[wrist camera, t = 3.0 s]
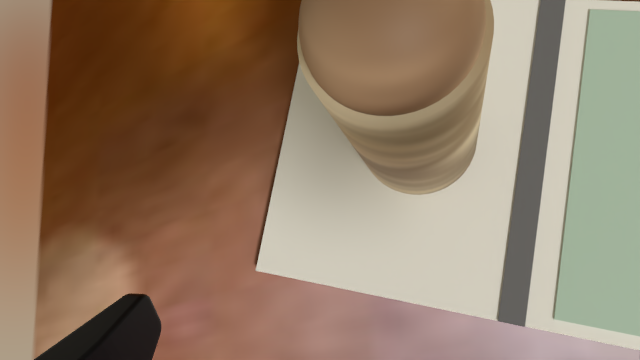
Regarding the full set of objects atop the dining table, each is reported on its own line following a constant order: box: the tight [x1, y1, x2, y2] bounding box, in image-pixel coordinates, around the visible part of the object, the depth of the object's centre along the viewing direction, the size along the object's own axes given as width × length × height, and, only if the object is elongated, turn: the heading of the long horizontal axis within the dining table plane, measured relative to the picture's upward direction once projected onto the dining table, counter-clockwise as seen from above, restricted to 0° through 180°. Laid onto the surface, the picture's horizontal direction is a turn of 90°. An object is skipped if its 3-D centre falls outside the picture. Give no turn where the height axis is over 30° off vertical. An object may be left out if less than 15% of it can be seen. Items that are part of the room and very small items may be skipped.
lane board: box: [256, 0, 640, 350], centre depth 21 cm, size 22×14×1 cm, turn 79°
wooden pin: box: [297, 0, 494, 195], centre depth 17 cm, size 5×5×12 cm
